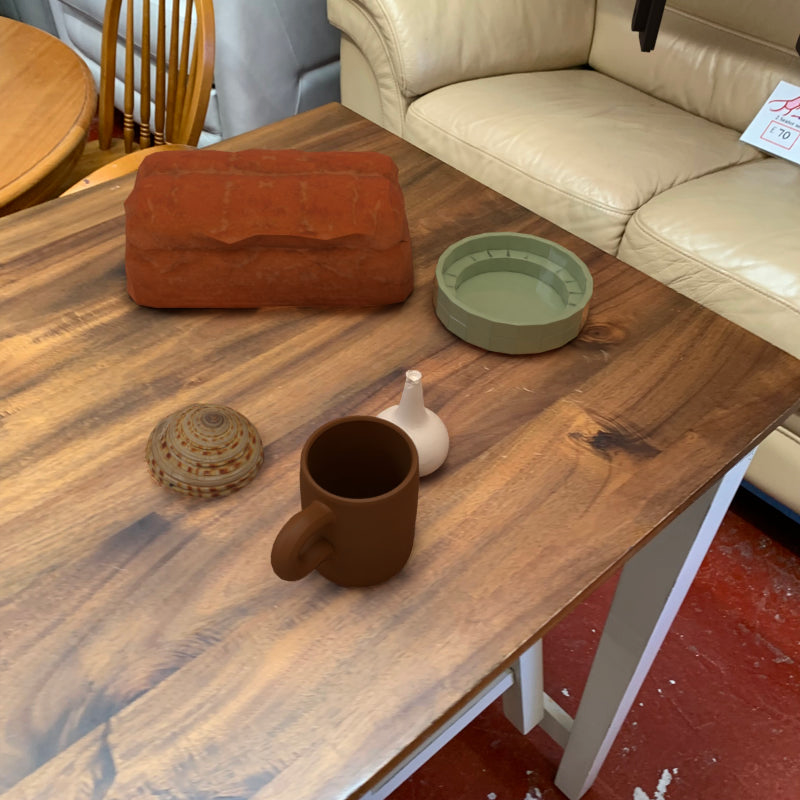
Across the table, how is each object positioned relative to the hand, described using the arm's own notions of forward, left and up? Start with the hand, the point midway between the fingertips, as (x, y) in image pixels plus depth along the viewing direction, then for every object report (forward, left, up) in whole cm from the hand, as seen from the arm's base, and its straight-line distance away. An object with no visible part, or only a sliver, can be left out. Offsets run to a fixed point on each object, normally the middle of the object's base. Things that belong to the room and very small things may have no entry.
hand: (724, 51), depth 51 cm
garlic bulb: (+17, +11, -28) cm, 35 cm away
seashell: (+32, +14, -28) cm, 45 cm away
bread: (+33, -11, -28) cm, 45 cm away
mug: (+20, +22, -28) cm, 41 cm away
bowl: (+10, -9, -28) cm, 31 cm away
